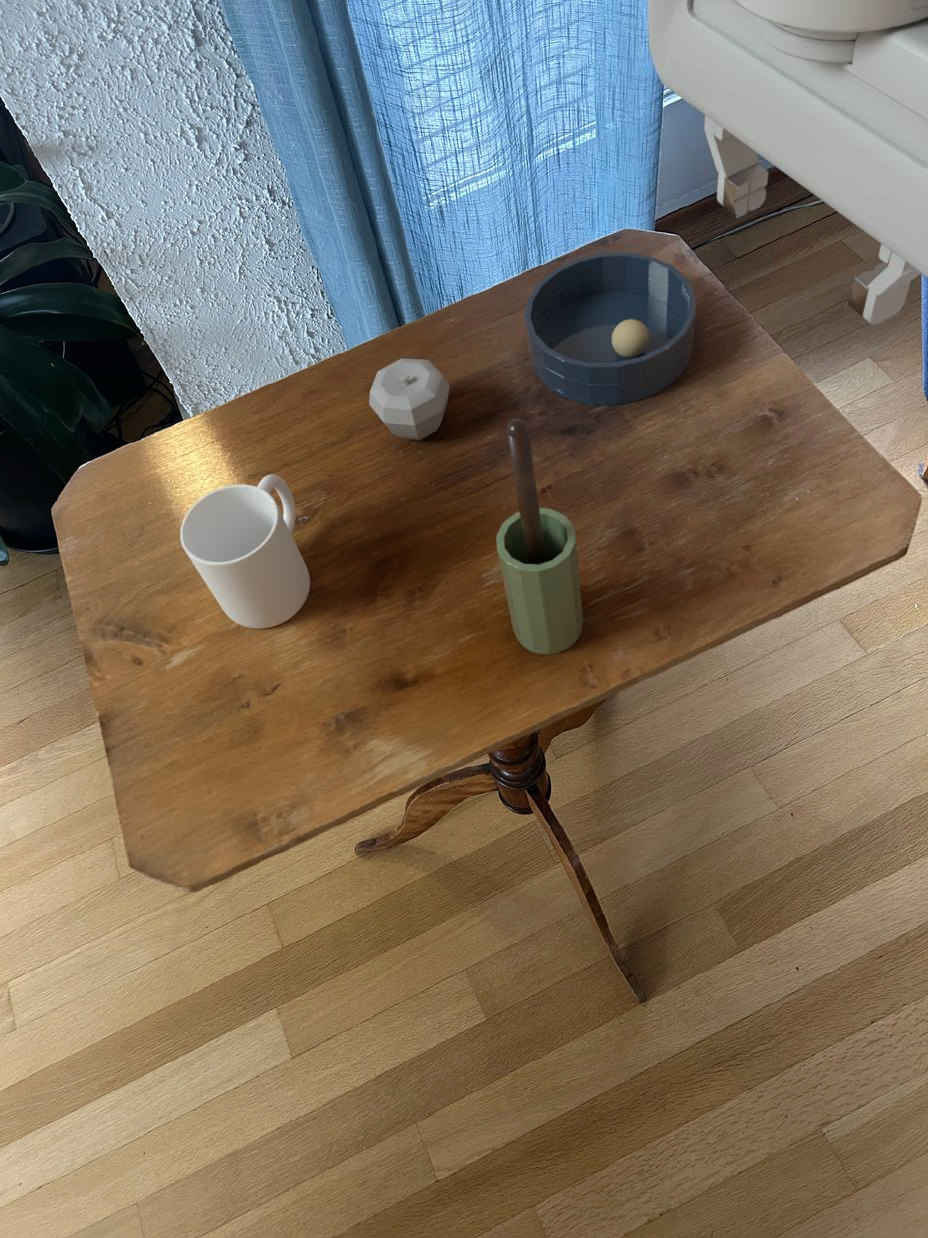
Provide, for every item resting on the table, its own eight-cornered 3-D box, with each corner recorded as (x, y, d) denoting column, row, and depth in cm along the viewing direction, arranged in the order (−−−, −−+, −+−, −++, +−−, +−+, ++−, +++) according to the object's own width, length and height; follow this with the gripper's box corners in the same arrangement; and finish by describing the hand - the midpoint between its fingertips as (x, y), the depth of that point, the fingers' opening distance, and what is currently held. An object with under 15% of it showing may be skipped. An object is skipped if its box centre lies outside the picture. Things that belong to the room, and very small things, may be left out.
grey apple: (462, 446, 95) (452, 396, 90) (383, 464, 95) (367, 415, 90) (450, 388, 100) (439, 338, 94) (374, 406, 100) (359, 356, 94)
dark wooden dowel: (554, 609, 83) (527, 407, 63) (562, 621, 82) (538, 420, 62) (529, 622, 82) (494, 423, 63) (537, 634, 82) (505, 437, 62)
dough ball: (646, 358, 98) (643, 321, 98) (654, 352, 95) (651, 314, 94) (610, 361, 98) (607, 324, 98) (616, 356, 95) (613, 317, 94)
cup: (207, 620, 88) (161, 552, 80) (265, 517, 94) (229, 444, 86) (288, 641, 86) (250, 573, 77) (343, 533, 91) (313, 460, 83)
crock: (559, 584, 85) (549, 495, 75) (596, 634, 82) (590, 547, 72) (500, 616, 84) (482, 529, 74) (536, 667, 81) (521, 584, 71)
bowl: (634, 271, 105) (634, 230, 101) (726, 357, 96) (730, 317, 92) (501, 336, 103) (495, 297, 98) (584, 430, 94) (581, 392, 90)
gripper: (1191, -8, 29) (1033, 353, 40) (753, -196, 40) (727, 130, 51) (1019, 75, 28) (907, 421, 39) (620, -140, 39) (624, 179, 50)
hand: (803, 255), depth 45 cm, fingers open, 8 cm apart
